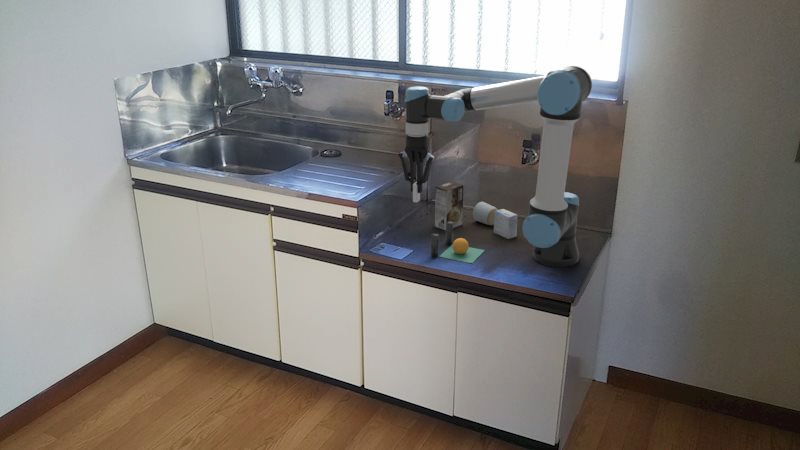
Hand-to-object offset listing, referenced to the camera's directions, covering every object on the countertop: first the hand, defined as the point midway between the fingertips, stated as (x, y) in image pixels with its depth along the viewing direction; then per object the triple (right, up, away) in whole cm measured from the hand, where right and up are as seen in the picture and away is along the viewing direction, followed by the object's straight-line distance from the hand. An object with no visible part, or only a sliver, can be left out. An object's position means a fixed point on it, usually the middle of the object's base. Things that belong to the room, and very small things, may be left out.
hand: (416, 201), depth 235 cm
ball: (+15, -16, -2) cm, 22 cm away
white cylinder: (+28, -7, +27) cm, 39 cm away
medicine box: (+33, -12, +15) cm, 38 cm away
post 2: (+12, -15, +7) cm, 20 cm away
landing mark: (+16, -18, -1) cm, 24 cm away
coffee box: (+13, -9, +23) cm, 28 cm away
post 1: (+6, -19, -3) cm, 20 cm away
